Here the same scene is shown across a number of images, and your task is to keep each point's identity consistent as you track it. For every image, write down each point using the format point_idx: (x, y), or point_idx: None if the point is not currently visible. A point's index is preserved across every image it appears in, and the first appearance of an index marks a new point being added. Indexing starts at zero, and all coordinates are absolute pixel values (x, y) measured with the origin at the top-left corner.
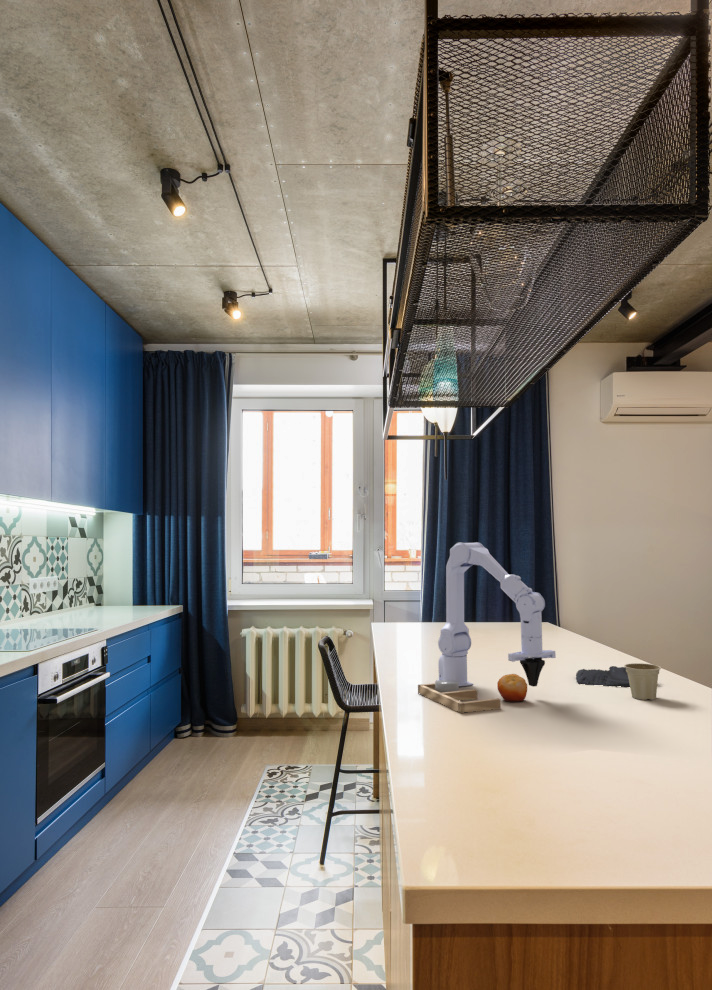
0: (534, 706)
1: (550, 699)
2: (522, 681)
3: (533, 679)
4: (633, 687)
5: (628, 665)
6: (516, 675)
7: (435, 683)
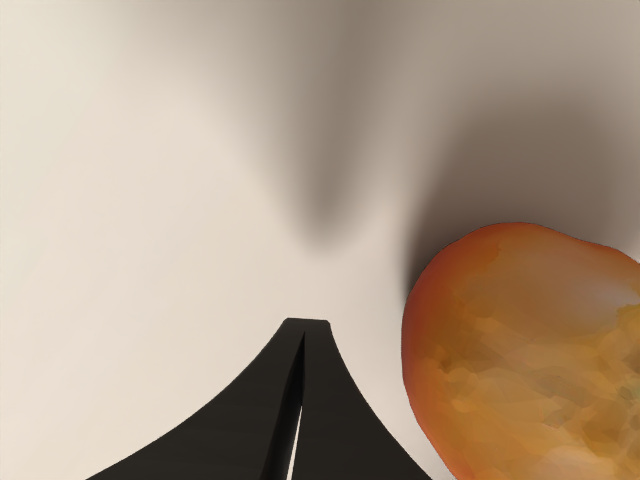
0: (488, 88)
1: (226, 212)
2: (540, 320)
3: (334, 352)
4: None
5: None
6: (546, 452)
7: None
